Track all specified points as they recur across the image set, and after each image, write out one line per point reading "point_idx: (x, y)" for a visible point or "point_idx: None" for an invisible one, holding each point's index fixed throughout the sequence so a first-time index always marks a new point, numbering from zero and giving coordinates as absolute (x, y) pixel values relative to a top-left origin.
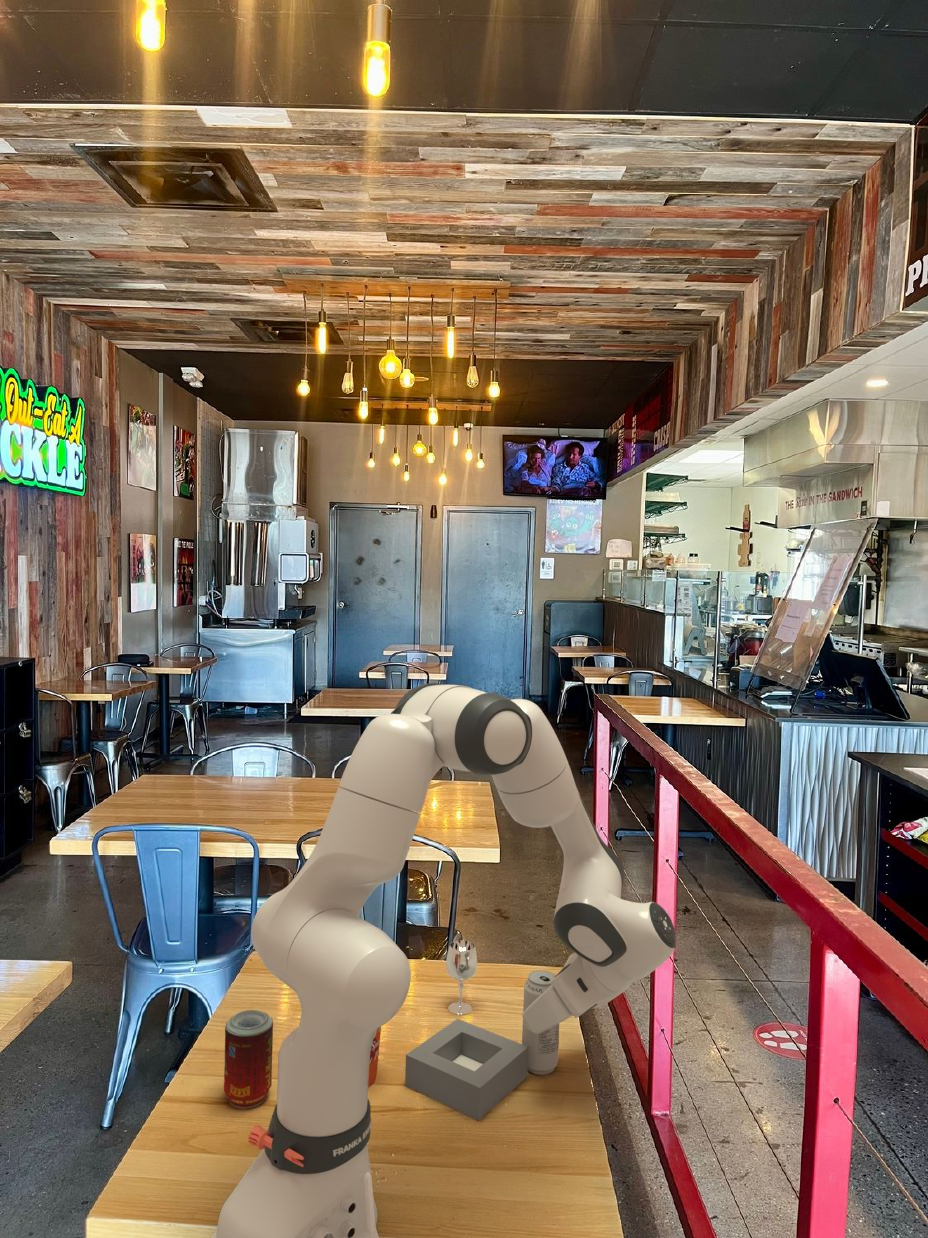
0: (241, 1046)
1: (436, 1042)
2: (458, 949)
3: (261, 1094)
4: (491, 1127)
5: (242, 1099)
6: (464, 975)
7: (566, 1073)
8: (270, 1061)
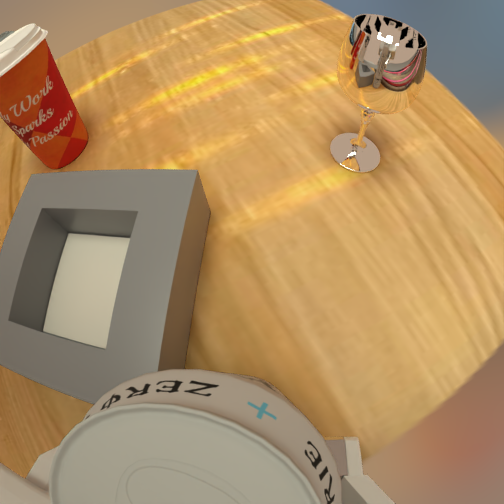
0: None
1: (76, 190)
2: (402, 44)
3: None
4: (17, 387)
5: None
6: (353, 94)
7: None
8: None
